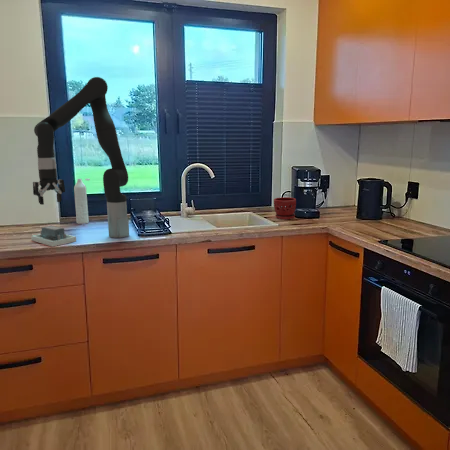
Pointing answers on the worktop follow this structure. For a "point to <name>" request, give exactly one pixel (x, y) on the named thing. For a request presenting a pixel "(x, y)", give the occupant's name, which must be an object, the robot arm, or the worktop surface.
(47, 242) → the tray
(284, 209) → the plant pot
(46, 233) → the block
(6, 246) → the worktop surface
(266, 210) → the worktop surface
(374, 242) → the worktop surface
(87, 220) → the water bottle
